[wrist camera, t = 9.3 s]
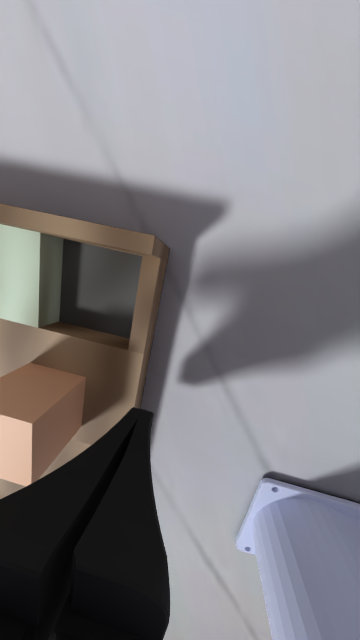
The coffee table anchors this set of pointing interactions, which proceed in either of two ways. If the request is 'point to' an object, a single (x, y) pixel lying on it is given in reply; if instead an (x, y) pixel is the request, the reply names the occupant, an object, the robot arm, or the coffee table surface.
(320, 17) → the coffee table surface
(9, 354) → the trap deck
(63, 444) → the block
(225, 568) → the coffee table surface
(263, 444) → the coffee table surface
